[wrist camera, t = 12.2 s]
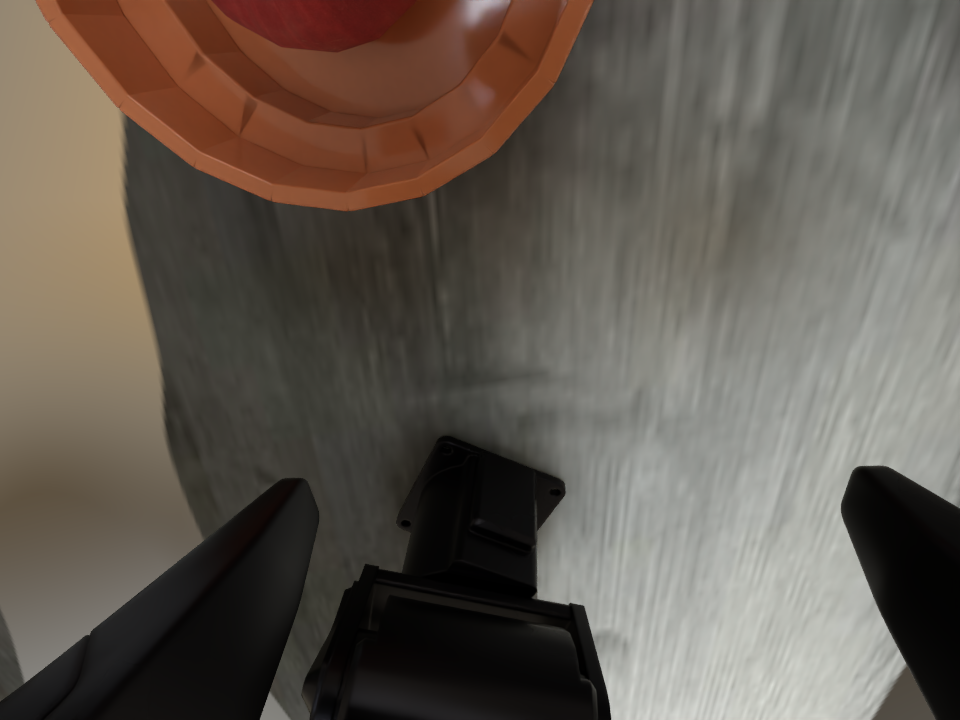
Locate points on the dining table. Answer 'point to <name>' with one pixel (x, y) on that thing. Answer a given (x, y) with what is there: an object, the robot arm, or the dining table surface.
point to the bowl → (325, 92)
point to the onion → (316, 21)
